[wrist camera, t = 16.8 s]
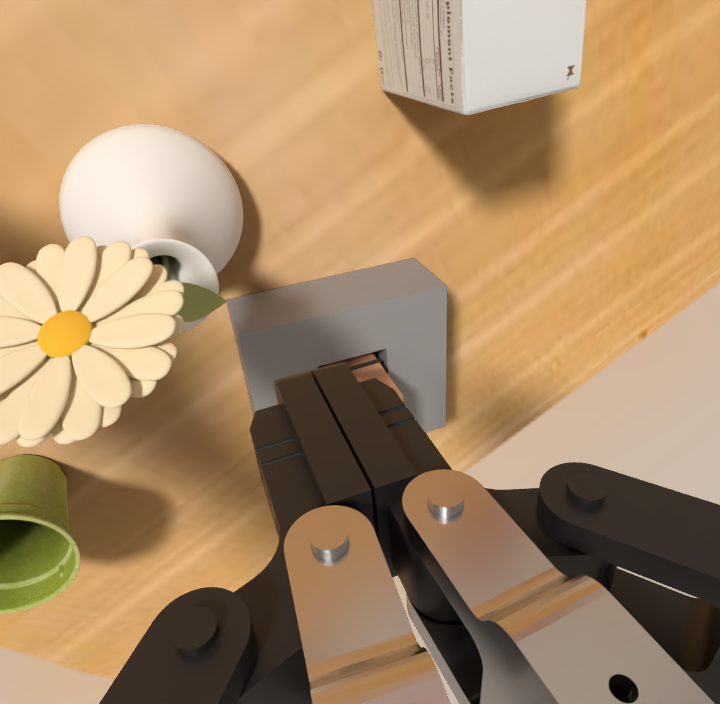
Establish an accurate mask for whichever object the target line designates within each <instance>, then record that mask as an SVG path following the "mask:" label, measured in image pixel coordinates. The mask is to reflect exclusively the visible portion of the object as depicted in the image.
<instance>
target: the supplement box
mask: <svg viewBox="0 0 720 704" xmlns="http://www.w3.org/2000/svg"><path fill="white" fill-rule="evenodd" d="M372 9H373V17H374V26H375V35H376V44H377V53H378V61H379V70H380V78H381V86H382V90H383V91H385V92H389V93H392V94H396V95H400V96H403V97H406V98H409V99H413V100H416V101H419V102H423V103H426V104H429V105H432V106H435V107H438V108H442V109H445V110H448V111H451V112H455V113H459V114H462V115H471V114H474V113H479V112H483V111H487V110H490V109H494V108H499V107H503V106H507V105H511V104H515V103H520V102H525V101H529V100H532V99H535V98H539V97H543V96H547V95H551V94H555V93H560V92H564V91H568V90H572V89H577V88H579V87H580V79H581V69H582V56H583V41H584V27H585V11H586V0H372Z"/></svg>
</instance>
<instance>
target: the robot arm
mask: <svg viewBox="0 0 720 704" xmlns="http://www.w3.org/2000/svg"><path fill="white" fill-rule="evenodd" d="M274 387H275V392H276V397H277V402H278V405H275V406H271V407H268V408H264V409H260V410H257V411H255V414H254V418H253V421H252V424H251V428H250V432H251V436H252V441H253V445H254V449H255V453H256V457H257V462H258V466H259V470H260V474H261V478H262V483H263V486H264V490H265V493H266V497H267V500H268V503H269V507H270V510H271V514H272V517H273V520H274V524H275V527H276V531H277V534H278V537H279V545H278V548H277V550H276V553H275V555H274V557H273V558H272V560H271V561H270V563H269V564H268V565H267V567H266V568H265V569H264V570H263V571H262V572H261V573H260V574H258V575H257V576H256V577H255V578H253V579H252V580H251V581H249V582H248V583H246V584H245V585H244V586H242V587H241V588H239V589H238V590H237V591H235V592H234V593H233V592H231V591H229V590H226V589H223V588H217V587H207V588H200V589H197V590H193V591H190V592H188V593H186V594H184V595H182V596H180V597H178V598H177V599H175V600H174V601H172V602H171V603H170V604H169V605H167V606H166V607H165V608H164V609H163V610H162V611H161V612H160V613H159V614H158V616H157V617H156V618H155V620H154V621H153V622H152V624H151V626H150V627H149V629H148V630H147V632H146V633H145V635H144V636H143V638H142V639H141V641H140V642H139V644H138V645H137V647H136V648H135V650H134V651H133V653H132V654H131V656H130V658H129V659H128V661H127V662H126V664H125V665H124V667H123V668H122V670H121V671H120V673H119V674H118V676H117V677H116V679H115V680H114V682H113V684H112V685H111V687H110V688H109V690H108V691H107V693H106V694H105V696H104V697H103V699H102V700H101V702H100V704H450V701H449V698H448V696H447V693H446V691H445V688H444V686H443V683H442V681H441V678H440V675H439V673H438V671H437V668H436V666H435V664H434V662H433V660H432V658H431V656H430V654H429V652H428V651H427V650H426V648H424V647H423V648H421V647H420V646H419V644H418V643H417V641H416V638H415V636H414V634H413V631H412V629H411V626H410V623H409V621H408V618H407V615H406V613H405V610H404V607H403V605H402V602H401V599H400V597H399V594H398V592H397V589H396V586H395V584H394V581H393V578H392V577H395V576H397V575H398V576H399V578H400V580H401V582H402V584H403V586H404V588H405V591H406V593H407V594H406V595H407V609H408V613H409V615H410V618H411V620H412V621H413V623H414V625H415V627H416V629H417V630H418V632H419V634H420V635H421V637H422V639H423V641H424V642H425V644H426V646H427V648H428V649H429V651H430V653H431V655H432V657H433V658H434V660H435V662H436V664H437V665H438V667H439V669H440V671H441V672H442V674H443V676H444V678H445V679H446V681H447V683H448V685H449V686H450V688H451V690H452V692H453V693H454V695H455V697H456V699H457V700H458V702H459V704H720V505H718V504H714V503H712V502H709V501H705V500H702V499H699V498H696V497H692V496H689V495H686V494H683V493H680V492H677V491H674V490H671V489H667V488H664V487H661V486H658V485H655V484H652V483H648V482H645V481H642V480H639V479H636V478H633V477H630V476H627V475H623V474H620V473H617V472H614V471H611V470H608V469H604V468H601V467H598V466H595V465H591V464H586V463H576V462H575V463H574V462H573V463H564V464H560V465H557V466H554V467H553V468H551V469H549V470H548V471H547V472H546V473H545V474H544V475H543V477H542V479H541V482H540V487H539V488H532V489H512V490H494V489H487V488H484V487H483V486H482V485H481V484H480V483H479V482H478V481H477V480H475V479H474V478H473V477H471V476H469V475H467V474H465V473H462V472H459V471H454V470H452V469H451V468H450V466H449V465H448V464H447V462H446V461H445V459H444V458H443V457H442V455H441V454H440V452H439V451H438V450H437V448H436V447H435V446H434V444H433V443H432V441H431V440H430V439H429V437H428V436H427V434H426V433H425V432H424V430H423V429H422V427H421V426H420V425H419V423H418V422H417V421H415V419H414V416H413V415H412V414H411V412H410V411H409V409H408V408H406V407H405V404H404V403H403V401H402V400H401V398H400V397H399V396H398V394H397V393H396V391H395V390H394V389H393V388H391V387H390V386H388V385H386V384H384V383H383V382H381V381H379V380H377V379H376V378H373V379H369V380H365V381H362V382H358V380H357V379H356V377H355V376H354V374H353V373H352V371H351V369H350V368H349V366H348V365H347V363H346V362H341V363H337V364H333V365H329V366H325V367H321V368H318V369H314V370H311V371H310V372H309V371H307V372H303V373H299V374H295V375H292V376H288V377H284V378H280V379H276V380H274ZM617 566H618V567H621V568H623V569H626V570H628V571H631V572H634V573H636V574H639V575H641V576H644V577H646V578H649V579H652V580H654V581H656V582H659V583H662V584H664V585H667V586H669V587H672V588H674V589H677V590H679V591H682V592H685V593H687V594H690V595H692V596H695V597H697V598H692V597H689V596H686V595H683V594H681V593H678V592H676V591H673V590H670V589H668V588H666V587H663V586H661V585H658V584H656V583H653V582H650V581H648V580H645V579H643V578H640V577H638V576H635V575H633V574H630V573H628V572H625V571H623V570H620V569H617ZM698 598H700V599H698Z"/></svg>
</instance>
